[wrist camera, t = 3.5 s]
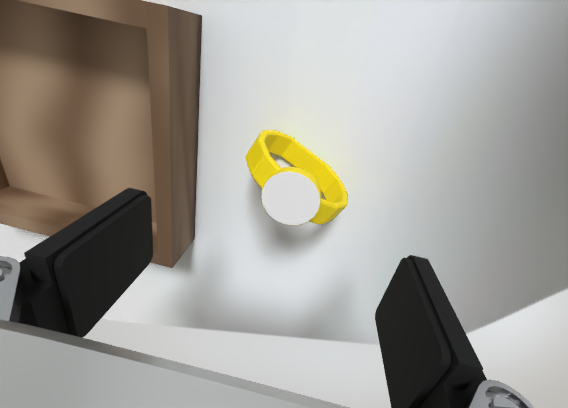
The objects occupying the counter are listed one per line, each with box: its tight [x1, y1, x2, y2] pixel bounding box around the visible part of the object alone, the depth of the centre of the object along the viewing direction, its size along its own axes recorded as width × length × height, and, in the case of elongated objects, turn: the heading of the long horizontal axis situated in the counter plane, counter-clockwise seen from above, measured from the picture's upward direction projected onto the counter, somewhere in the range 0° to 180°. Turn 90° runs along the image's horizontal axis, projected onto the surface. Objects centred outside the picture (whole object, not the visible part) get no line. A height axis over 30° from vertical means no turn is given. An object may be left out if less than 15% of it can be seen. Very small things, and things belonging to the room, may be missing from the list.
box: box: [0, 0, 202, 268], centre depth 17 cm, size 16×15×4 cm
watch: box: [246, 130, 348, 226], centre depth 15 cm, size 6×3×6 cm, turn 55°
